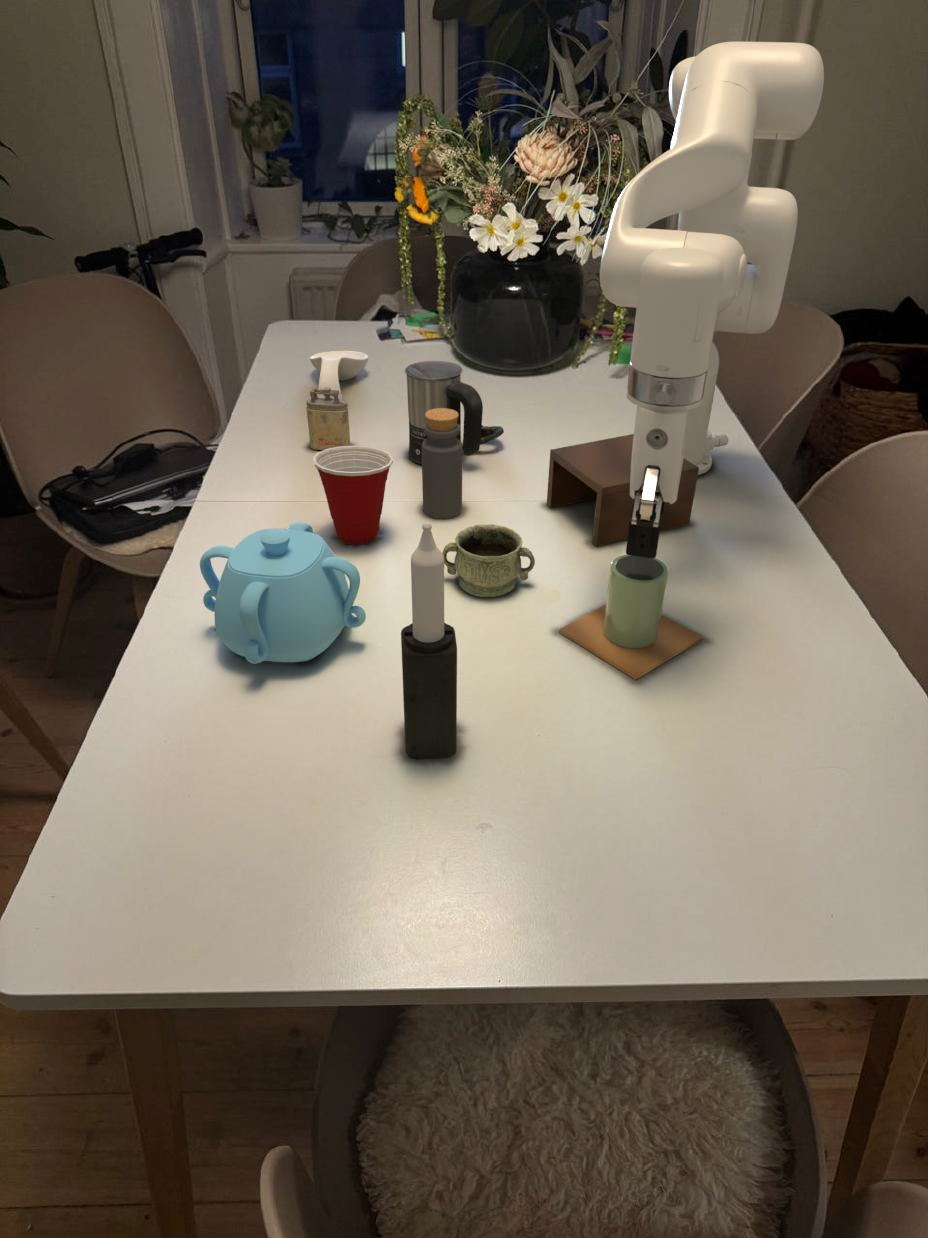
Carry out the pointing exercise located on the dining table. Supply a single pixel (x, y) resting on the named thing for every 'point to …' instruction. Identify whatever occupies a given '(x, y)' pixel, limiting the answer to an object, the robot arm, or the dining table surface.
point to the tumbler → (634, 601)
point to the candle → (429, 659)
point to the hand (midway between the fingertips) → (644, 533)
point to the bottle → (442, 464)
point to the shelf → (611, 486)
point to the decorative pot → (281, 595)
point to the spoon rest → (337, 368)
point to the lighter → (327, 420)
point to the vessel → (488, 559)
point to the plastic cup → (354, 489)
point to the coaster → (630, 659)
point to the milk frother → (444, 405)
